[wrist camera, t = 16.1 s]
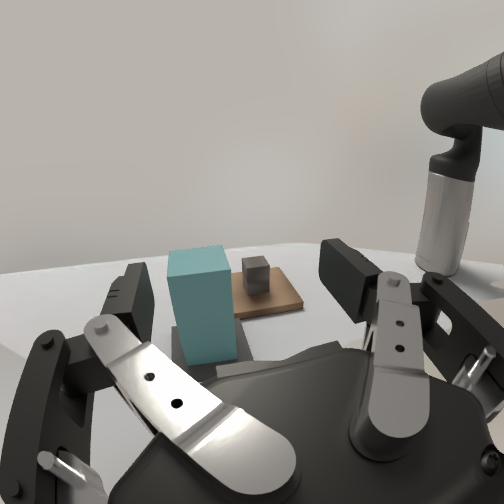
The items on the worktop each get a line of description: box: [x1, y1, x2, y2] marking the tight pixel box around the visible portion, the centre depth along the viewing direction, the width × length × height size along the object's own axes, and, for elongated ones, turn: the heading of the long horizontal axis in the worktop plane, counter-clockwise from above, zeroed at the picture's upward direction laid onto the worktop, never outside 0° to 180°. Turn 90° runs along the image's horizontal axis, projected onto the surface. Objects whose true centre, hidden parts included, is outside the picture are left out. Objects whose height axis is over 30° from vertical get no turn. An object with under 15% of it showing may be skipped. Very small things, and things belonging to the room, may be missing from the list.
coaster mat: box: [172, 318, 254, 383], centre depth 27 cm, size 8×8×1 cm
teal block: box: [167, 245, 237, 366], centre depth 25 cm, size 5×5×10 cm
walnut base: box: [231, 256, 304, 319], centre depth 37 cm, size 10×10×5 cm
